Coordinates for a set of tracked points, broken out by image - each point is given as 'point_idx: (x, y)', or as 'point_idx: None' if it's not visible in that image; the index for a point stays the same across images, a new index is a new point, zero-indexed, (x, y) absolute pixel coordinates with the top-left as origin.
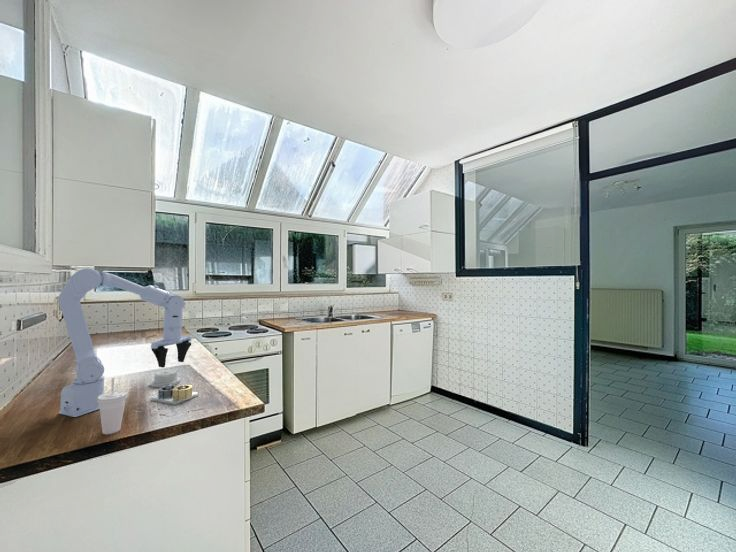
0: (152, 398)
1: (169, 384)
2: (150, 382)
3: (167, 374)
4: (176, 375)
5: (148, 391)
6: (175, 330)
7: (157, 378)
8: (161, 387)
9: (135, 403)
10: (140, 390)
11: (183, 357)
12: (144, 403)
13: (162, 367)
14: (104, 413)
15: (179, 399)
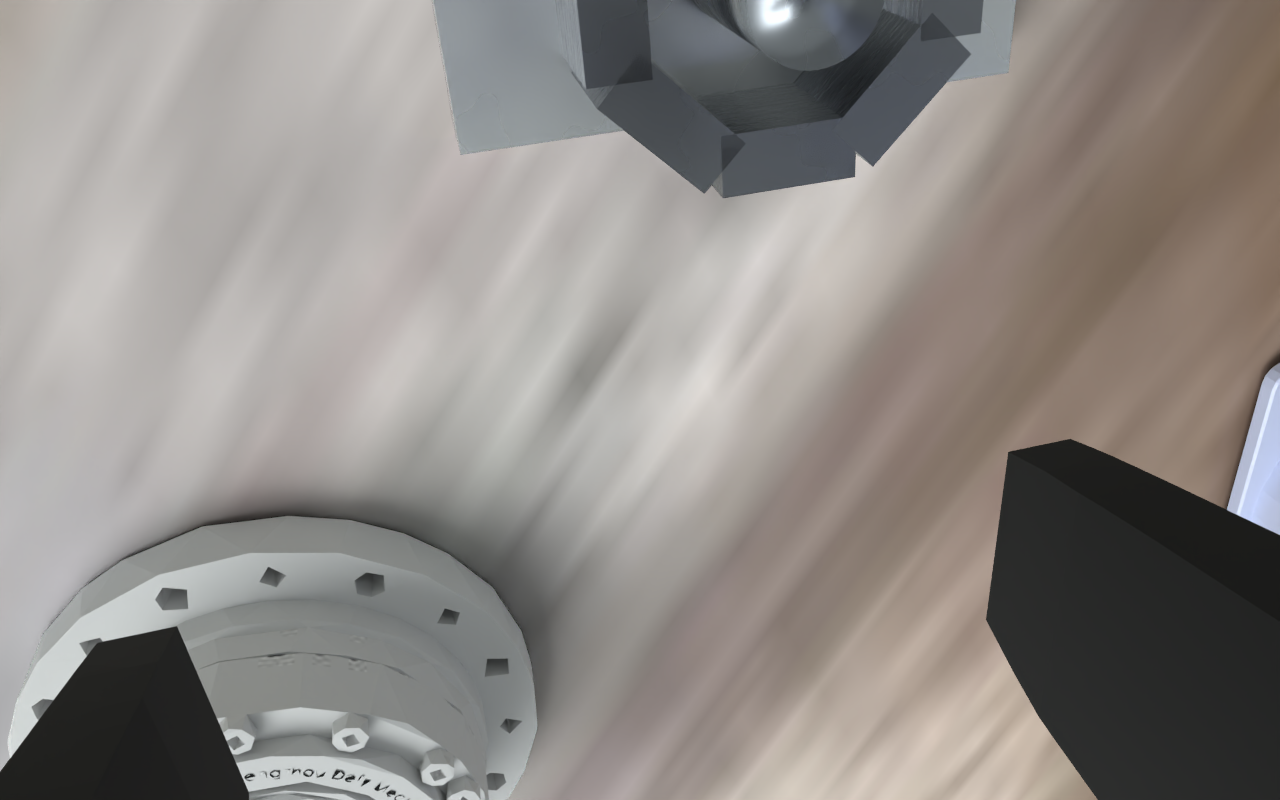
0: (1002, 28)
1: (771, 31)
2: (508, 796)
3: (326, 771)
4: None
5: (686, 529)
6: None
7: (480, 769)
8: (820, 178)
9: (1135, 155)
10: (708, 650)
11: (86, 788)
12: (1109, 14)
13: (1084, 449)
14: None
15: None
